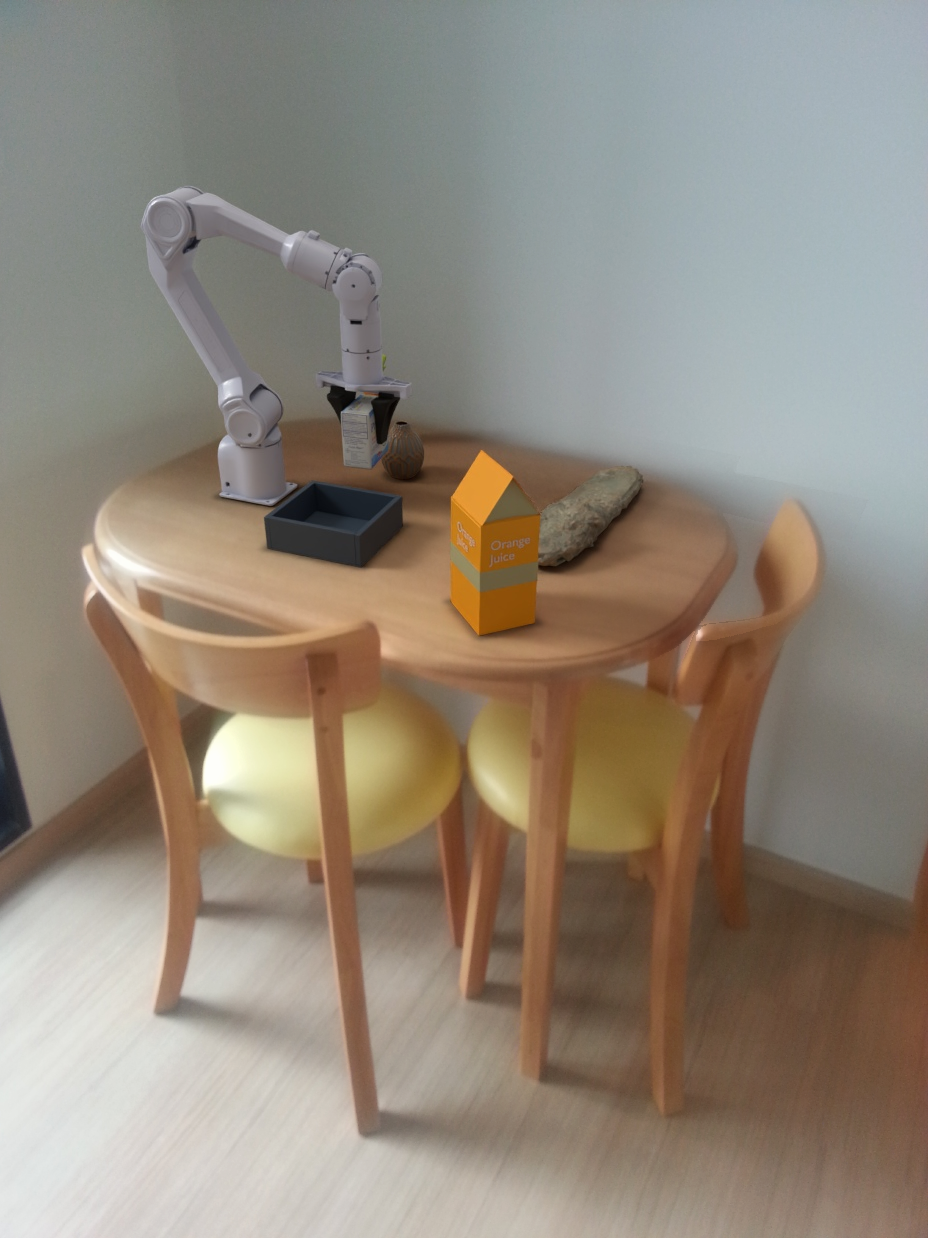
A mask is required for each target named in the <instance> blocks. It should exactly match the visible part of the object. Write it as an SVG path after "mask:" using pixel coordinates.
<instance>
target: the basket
mask: <svg viewBox="0 0 928 1238" xmlns="http://www.w3.org/2000/svg"><path fill="white" fill-rule="evenodd" d="M403 511H404V510H403V496H402V495H398V494H393V493H387V492H382V491H376V490H371V489H365V488H359V487H353V486H348V485H342V484H337V483H330V482H324V481H319V480H311V481H309V482H308V483H307V484H306V485H304V486H303V487H301V488H300V489H299V490H297V491H296V492H295V493H293V494H292V495H291V496H290V497H288V498H286V500H284V501H283V502H282V503H281V504H279V505H278V506H276V507H275V508H274V509H272V510H271V511H270V512H268V513H267V514H266V515H264V516H263V520H264V521H263V523H264V533H265V541H266V549H269V550H274V551H279V552H283V553H288V554H292V555H298V556H303V557H307V558H314V559H317V560H323V561H327V562H332V563H338V564H342V565H348V566H352V567H356V568H363V567H364V565H366V563H368V562H369V561H370V560H371V558H373V557H374V556H375V554H377V552H379V550H381V549H382V548H383V547H384V546H385V545H386V544H387V543H388V542H389V541H390V540H391V539H392V538H393V537H394V536H395V535H396V534H397V533H398V532H399V531H400V530H401V529H402V528H403V527H404V522H403V521H404V520H403V519H404V517H403V514H404V512H403Z"/></svg>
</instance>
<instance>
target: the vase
mask: <svg viewBox="0 0 928 1238" xmlns="http://www.w3.org/2000/svg"><path fill="white" fill-rule="evenodd" d="M424 459H425V449H424V444H423V442H422V440H421V438H420V436H419V435H418V433H417V432H416V431H415V430H414V429H413V427H412V425H411V423H410V422H409V421H408V420H404V419H403V420H402V419H401V420H395V421H394V423H393V425H392V427H391V428H390V429H389V431H388V451H387V452H386V453H385V454H384V455H383V457H382V458H381V459H380V460H381V464H382V466H383V469H384V470H385V472H386V473H387V475H389V476H391V478H394V479H398V480H408V479H412V478H414V477H415V476H417V474H418V473H419V472H420V471H421V469H422V467H423V464H424V461H425V460H424Z"/></svg>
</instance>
